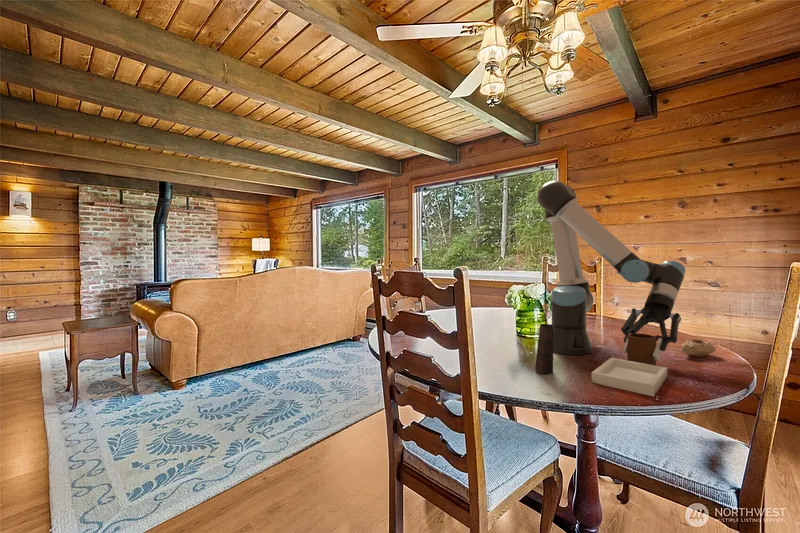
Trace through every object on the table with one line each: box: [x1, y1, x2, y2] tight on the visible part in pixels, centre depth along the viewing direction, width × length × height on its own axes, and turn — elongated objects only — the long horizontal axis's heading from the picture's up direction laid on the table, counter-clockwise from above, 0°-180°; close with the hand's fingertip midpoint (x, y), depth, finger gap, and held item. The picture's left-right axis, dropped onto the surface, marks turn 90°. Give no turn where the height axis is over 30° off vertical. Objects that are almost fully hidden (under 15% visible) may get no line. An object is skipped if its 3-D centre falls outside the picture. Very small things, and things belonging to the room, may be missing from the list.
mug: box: [627, 332, 663, 366], centre depth 112 cm, size 12×8×9 cm, turn 99°
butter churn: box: [534, 280, 554, 375], centre depth 106 cm, size 9×10×28 cm
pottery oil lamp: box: [680, 338, 717, 358], centre depth 120 cm, size 9×12×7 cm
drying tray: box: [591, 357, 668, 397], centre depth 99 cm, size 14×18×3 cm
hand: (639, 354), depth 111 cm, fingers closed on mug, 8 cm apart
